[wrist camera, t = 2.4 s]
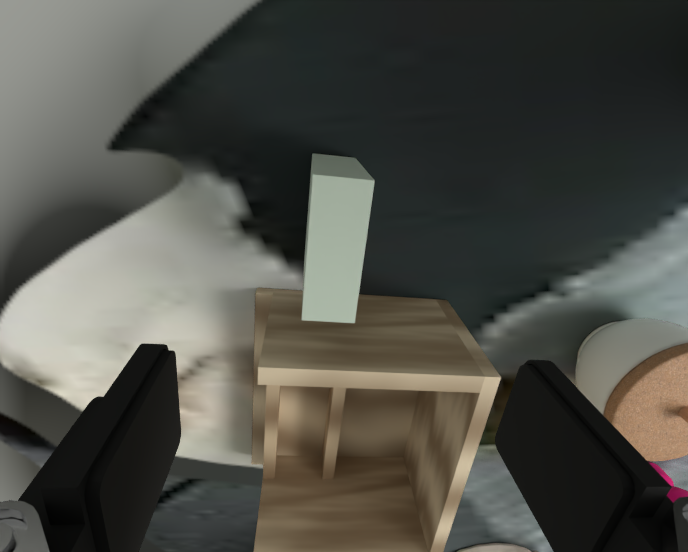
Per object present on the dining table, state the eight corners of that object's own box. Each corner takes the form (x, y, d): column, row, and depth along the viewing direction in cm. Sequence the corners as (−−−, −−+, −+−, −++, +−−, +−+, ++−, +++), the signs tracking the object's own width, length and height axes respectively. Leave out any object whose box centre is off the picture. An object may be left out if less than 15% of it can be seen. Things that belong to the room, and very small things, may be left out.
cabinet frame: (257, 287, 30) (234, 366, 21) (447, 300, 32) (501, 377, 23) (253, 455, 37) (234, 568, 28) (408, 457, 39) (438, 565, 30)
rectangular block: (312, 153, 27) (312, 174, 18) (355, 157, 27) (374, 180, 19) (304, 261, 30) (301, 320, 22) (342, 263, 30) (354, 323, 22)
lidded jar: (623, 404, 39) (712, 490, 30) (531, 383, 37) (599, 468, 28) (691, 313, 35) (816, 382, 26) (592, 284, 33) (692, 348, 24)
